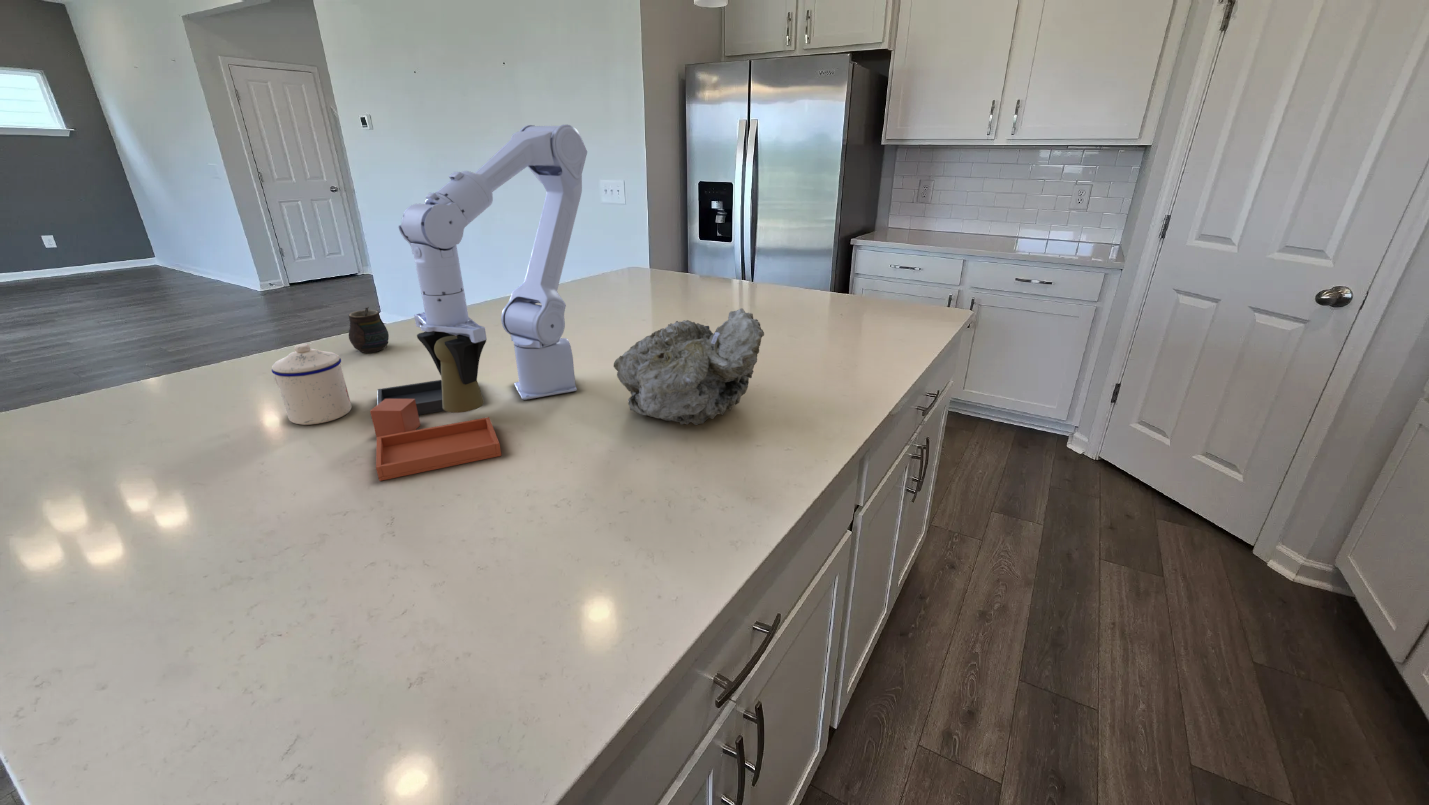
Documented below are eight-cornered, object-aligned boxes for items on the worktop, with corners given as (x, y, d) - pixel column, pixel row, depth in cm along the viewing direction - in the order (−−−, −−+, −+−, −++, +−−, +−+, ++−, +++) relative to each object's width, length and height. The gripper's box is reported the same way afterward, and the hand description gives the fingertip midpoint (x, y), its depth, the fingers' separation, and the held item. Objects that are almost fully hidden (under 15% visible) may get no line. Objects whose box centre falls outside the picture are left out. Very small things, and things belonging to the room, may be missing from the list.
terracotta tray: (491, 428, 90) (489, 416, 89) (501, 455, 82) (499, 443, 81) (379, 449, 83) (376, 437, 83) (379, 481, 76) (375, 467, 75)
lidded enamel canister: (366, 406, 97) (349, 339, 92) (318, 429, 89) (296, 357, 84) (311, 397, 100) (292, 332, 96) (259, 419, 92) (235, 349, 88)
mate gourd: (381, 342, 129) (370, 297, 125) (399, 348, 125) (389, 302, 121) (346, 350, 123) (334, 304, 119) (364, 357, 119) (352, 309, 115)
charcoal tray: (474, 385, 106) (472, 374, 105) (481, 404, 98) (480, 393, 98) (380, 399, 100) (377, 388, 99) (379, 421, 92) (377, 410, 91)
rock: (670, 301, 106) (762, 273, 86) (716, 379, 112) (812, 369, 92) (572, 375, 94) (652, 362, 74) (628, 458, 100) (717, 466, 80)
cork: (469, 414, 89) (457, 345, 84) (434, 410, 90) (420, 342, 85) (491, 398, 94) (480, 333, 90) (457, 395, 95) (445, 330, 91)
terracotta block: (376, 438, 87) (369, 410, 85) (391, 425, 91) (385, 398, 89) (406, 438, 87) (400, 410, 85) (420, 425, 91) (414, 398, 89)
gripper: (388, 289, 85) (407, 376, 91) (448, 303, 78) (465, 397, 83) (432, 281, 91) (448, 363, 96) (492, 293, 83) (505, 382, 89)
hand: (458, 378), depth 90 cm, fingers closed on cork, 5 cm apart
